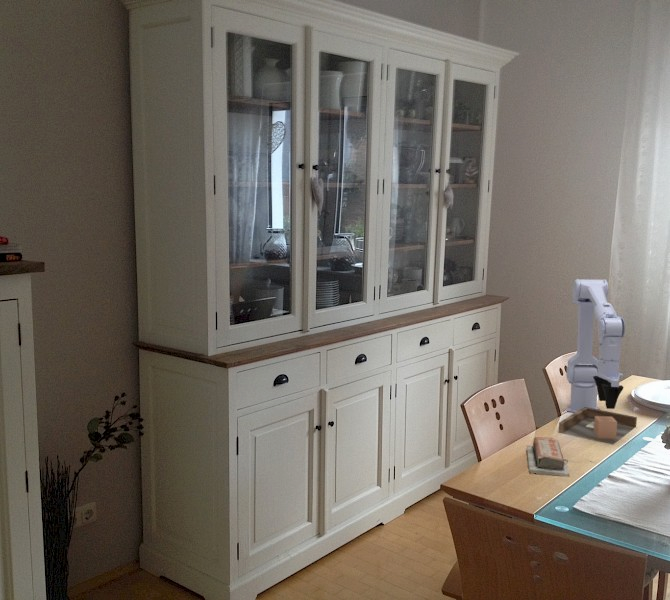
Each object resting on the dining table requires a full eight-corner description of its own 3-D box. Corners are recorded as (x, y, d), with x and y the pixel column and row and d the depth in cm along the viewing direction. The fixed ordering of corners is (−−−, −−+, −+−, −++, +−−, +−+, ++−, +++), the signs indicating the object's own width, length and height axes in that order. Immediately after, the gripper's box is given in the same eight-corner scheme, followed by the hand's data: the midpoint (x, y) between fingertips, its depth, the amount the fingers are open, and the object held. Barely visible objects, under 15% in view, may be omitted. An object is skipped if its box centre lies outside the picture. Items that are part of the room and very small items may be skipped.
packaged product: (526, 434, 205) (563, 436, 203) (525, 450, 206) (562, 453, 204) (530, 457, 188) (570, 460, 186) (529, 475, 188) (569, 478, 186)
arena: (584, 419, 232) (584, 406, 231) (636, 429, 222) (636, 417, 221) (558, 435, 217) (559, 422, 216) (612, 447, 206) (613, 434, 206)
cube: (593, 432, 216) (594, 416, 216) (611, 432, 216) (612, 416, 215) (598, 438, 211) (599, 421, 211) (616, 438, 211) (617, 422, 210)
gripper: (631, 365, 203) (628, 412, 205) (616, 353, 217) (613, 397, 219) (605, 364, 203) (602, 411, 205) (591, 352, 217) (589, 397, 220)
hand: (606, 404), depth 212 cm, fingers open, 7 cm apart
